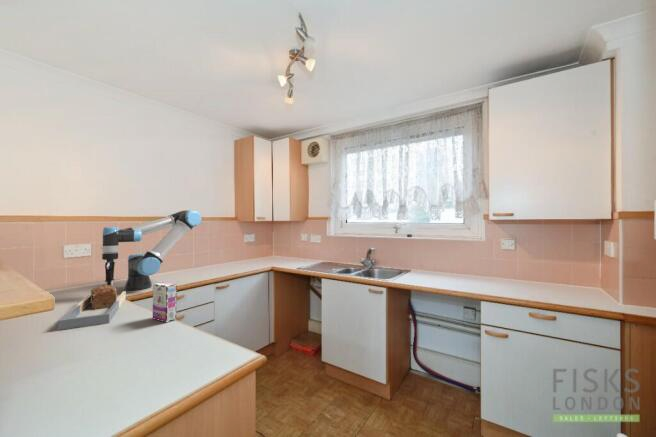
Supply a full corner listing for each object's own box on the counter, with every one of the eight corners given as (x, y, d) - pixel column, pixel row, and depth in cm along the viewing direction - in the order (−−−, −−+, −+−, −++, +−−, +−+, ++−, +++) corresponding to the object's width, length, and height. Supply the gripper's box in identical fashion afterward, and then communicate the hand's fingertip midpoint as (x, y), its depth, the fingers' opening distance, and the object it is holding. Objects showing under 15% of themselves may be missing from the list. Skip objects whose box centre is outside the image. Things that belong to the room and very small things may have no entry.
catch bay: (125, 297, 161) (125, 291, 161) (109, 322, 121) (109, 314, 121) (88, 302, 153) (88, 294, 153) (57, 330, 113) (57, 320, 113)
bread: (116, 306, 145) (116, 287, 145) (90, 310, 138) (90, 291, 138) (115, 299, 159) (115, 282, 159) (90, 302, 152) (91, 284, 152)
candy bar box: (177, 319, 126) (177, 284, 126) (166, 323, 121) (166, 286, 121) (162, 315, 131) (162, 281, 131) (151, 318, 126) (152, 283, 127)
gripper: (104, 251, 166) (103, 290, 166) (99, 254, 155) (98, 295, 154) (120, 251, 170) (119, 289, 169) (116, 253, 158) (115, 293, 158)
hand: (109, 292), depth 162 cm, fingers closed
